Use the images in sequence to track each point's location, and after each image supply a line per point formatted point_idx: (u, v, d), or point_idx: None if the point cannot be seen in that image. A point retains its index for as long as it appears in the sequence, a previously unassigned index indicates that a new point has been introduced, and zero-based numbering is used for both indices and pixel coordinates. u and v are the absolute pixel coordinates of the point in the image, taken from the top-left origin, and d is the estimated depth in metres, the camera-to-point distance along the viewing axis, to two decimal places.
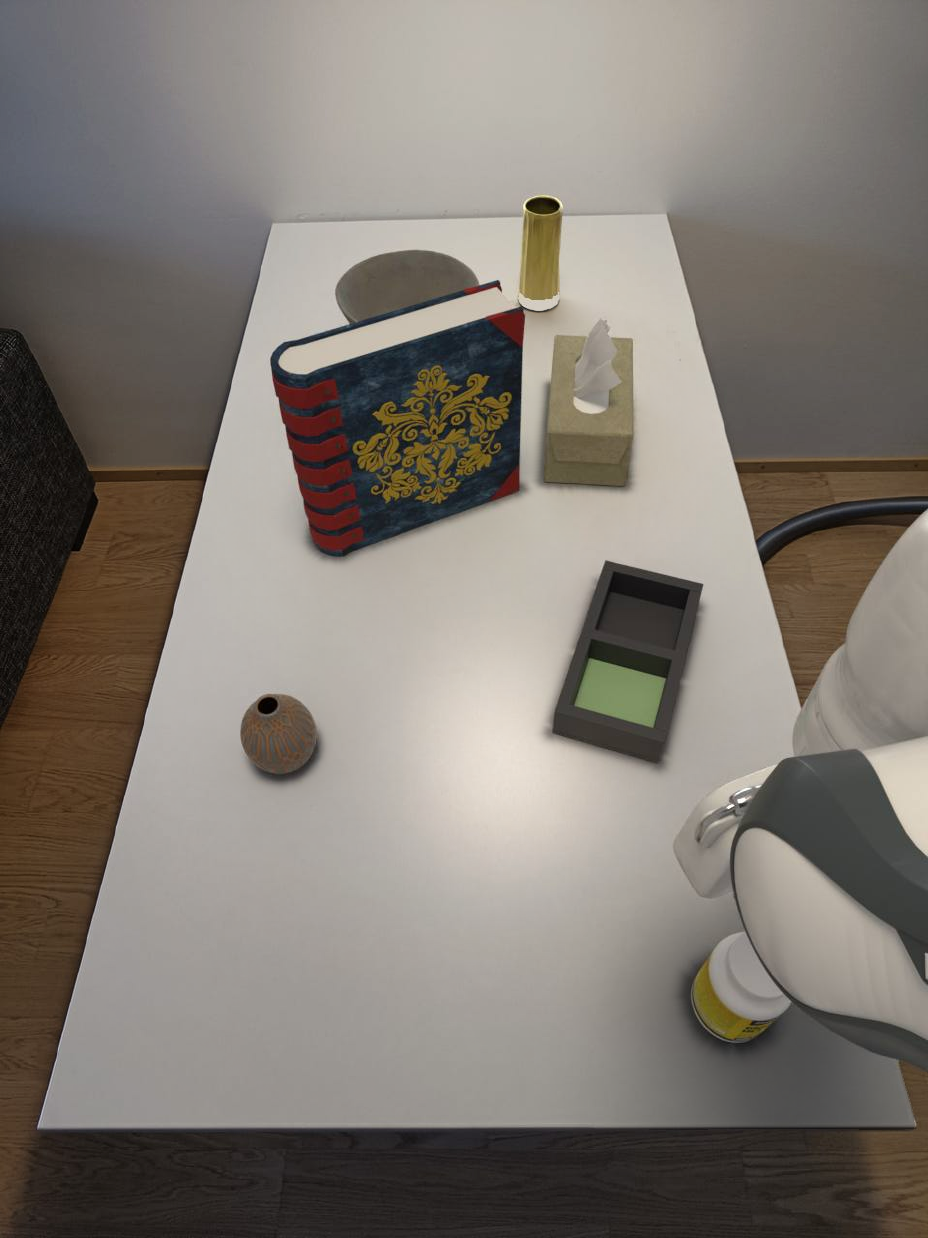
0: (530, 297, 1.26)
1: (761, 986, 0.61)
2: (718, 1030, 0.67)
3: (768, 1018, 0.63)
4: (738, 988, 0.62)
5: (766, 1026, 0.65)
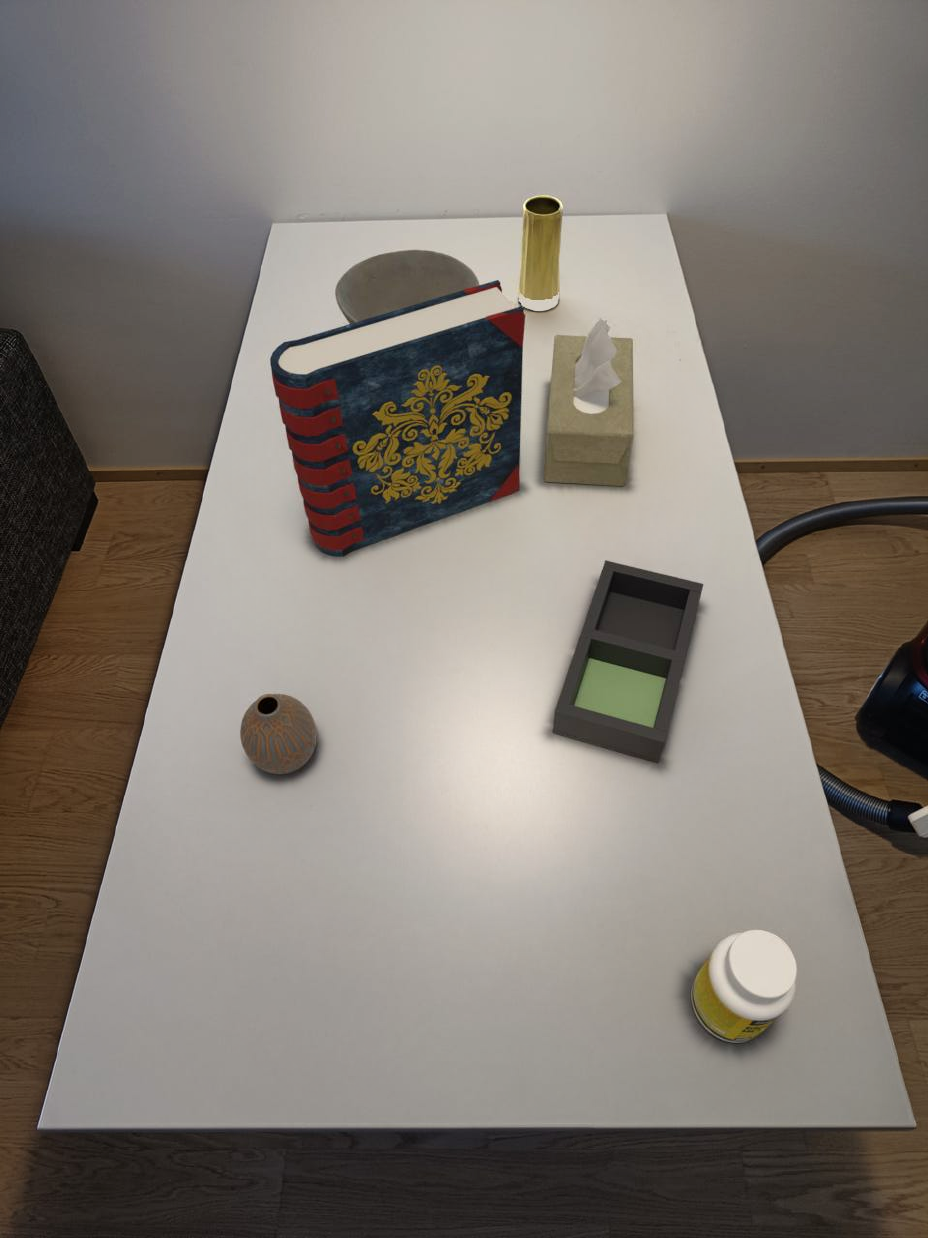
0: (530, 297, 1.26)
1: (761, 986, 0.61)
2: (718, 1030, 0.67)
3: (768, 1018, 0.63)
4: (738, 988, 0.62)
5: (766, 1026, 0.65)
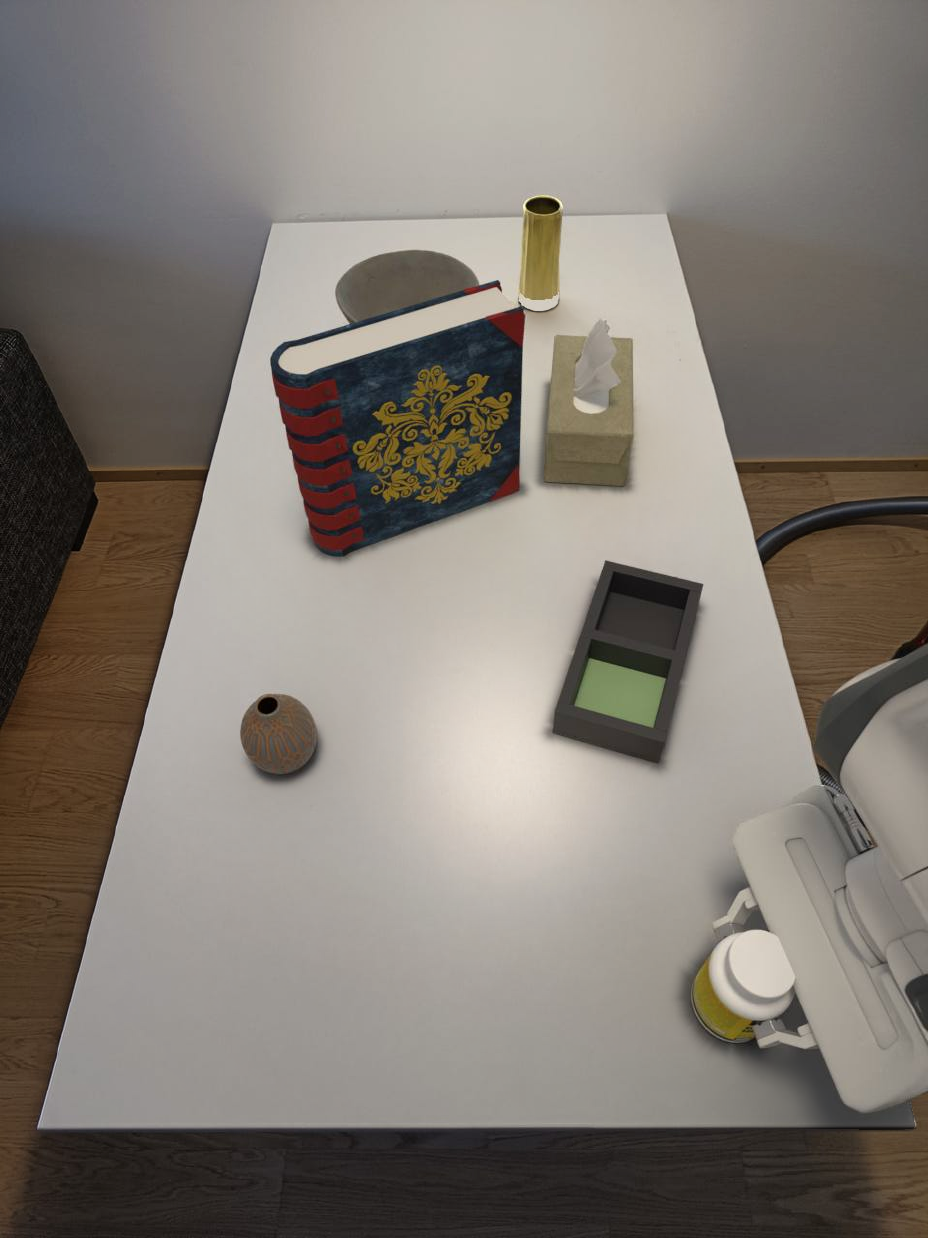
0: (530, 297, 1.26)
1: (761, 986, 0.61)
2: (718, 1030, 0.67)
3: (768, 1018, 0.63)
4: (738, 988, 0.62)
5: None
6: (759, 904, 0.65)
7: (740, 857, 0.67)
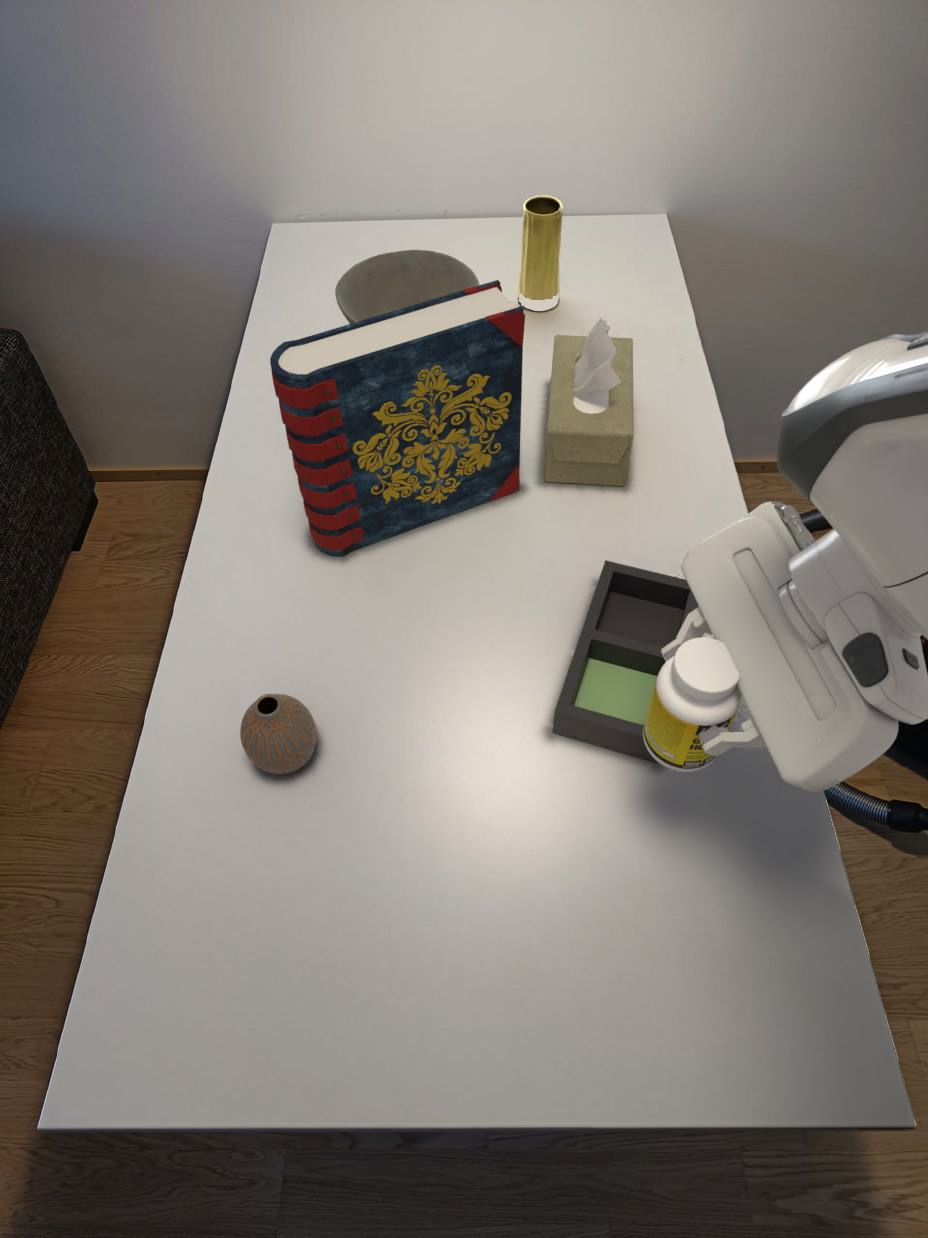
0: (530, 297, 1.26)
1: (705, 682, 0.61)
2: (667, 755, 0.67)
3: (713, 722, 0.63)
4: (683, 688, 0.62)
5: None
6: (706, 618, 0.65)
7: (689, 579, 0.67)
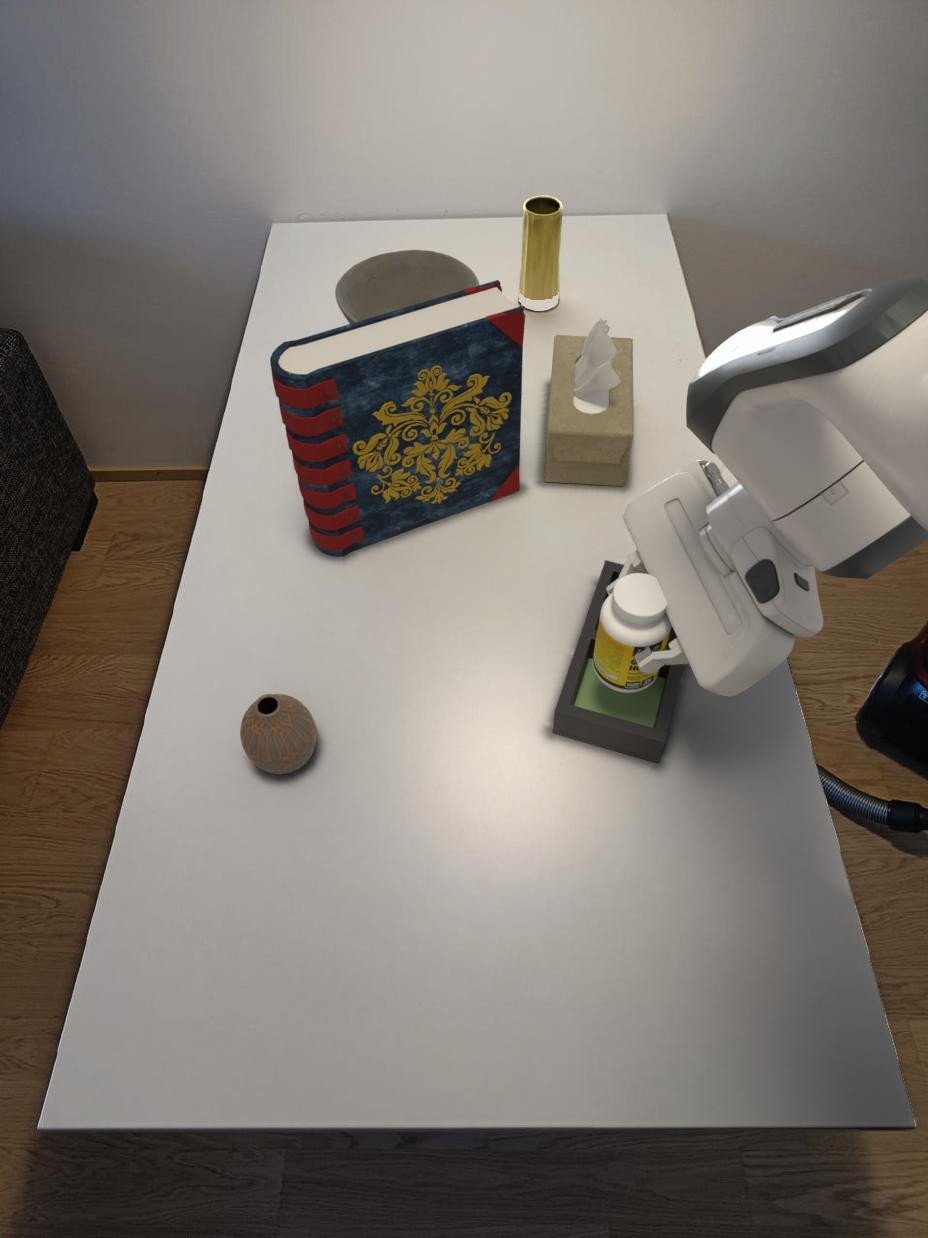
0: (530, 297, 1.26)
1: (638, 608, 0.73)
2: (612, 677, 0.79)
3: (646, 643, 0.74)
4: (620, 614, 0.73)
5: None
6: (642, 558, 0.76)
7: (629, 527, 0.78)
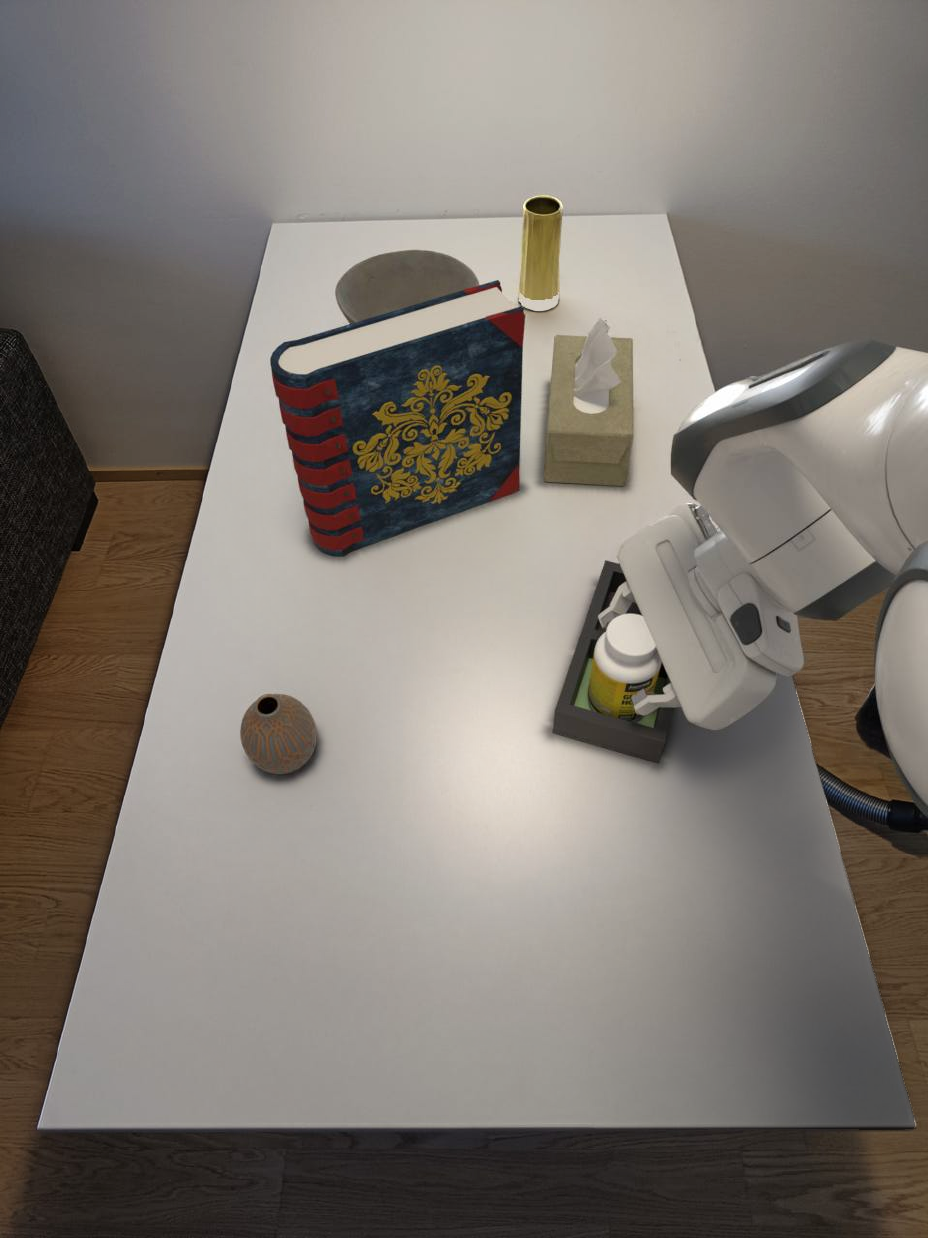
0: (530, 297, 1.26)
1: (629, 648, 0.77)
2: (605, 710, 0.84)
3: (638, 680, 0.79)
4: (613, 653, 0.78)
5: None
6: (634, 596, 0.81)
7: (622, 565, 0.83)
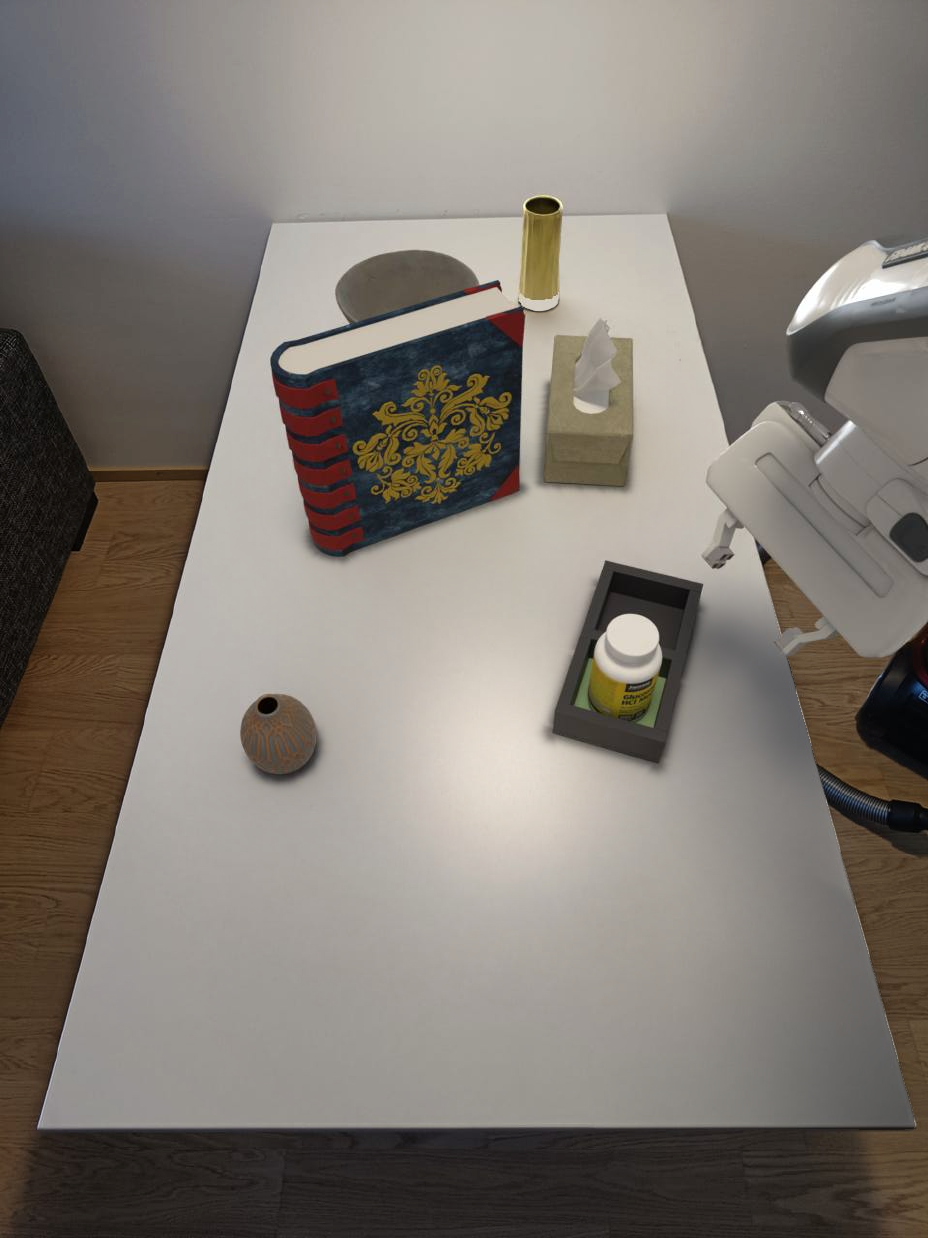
0: (530, 297, 1.26)
1: (629, 648, 0.77)
2: (605, 710, 0.84)
3: (638, 680, 0.79)
4: (613, 653, 0.78)
5: (640, 698, 0.81)
6: (746, 525, 0.70)
7: (718, 493, 0.71)
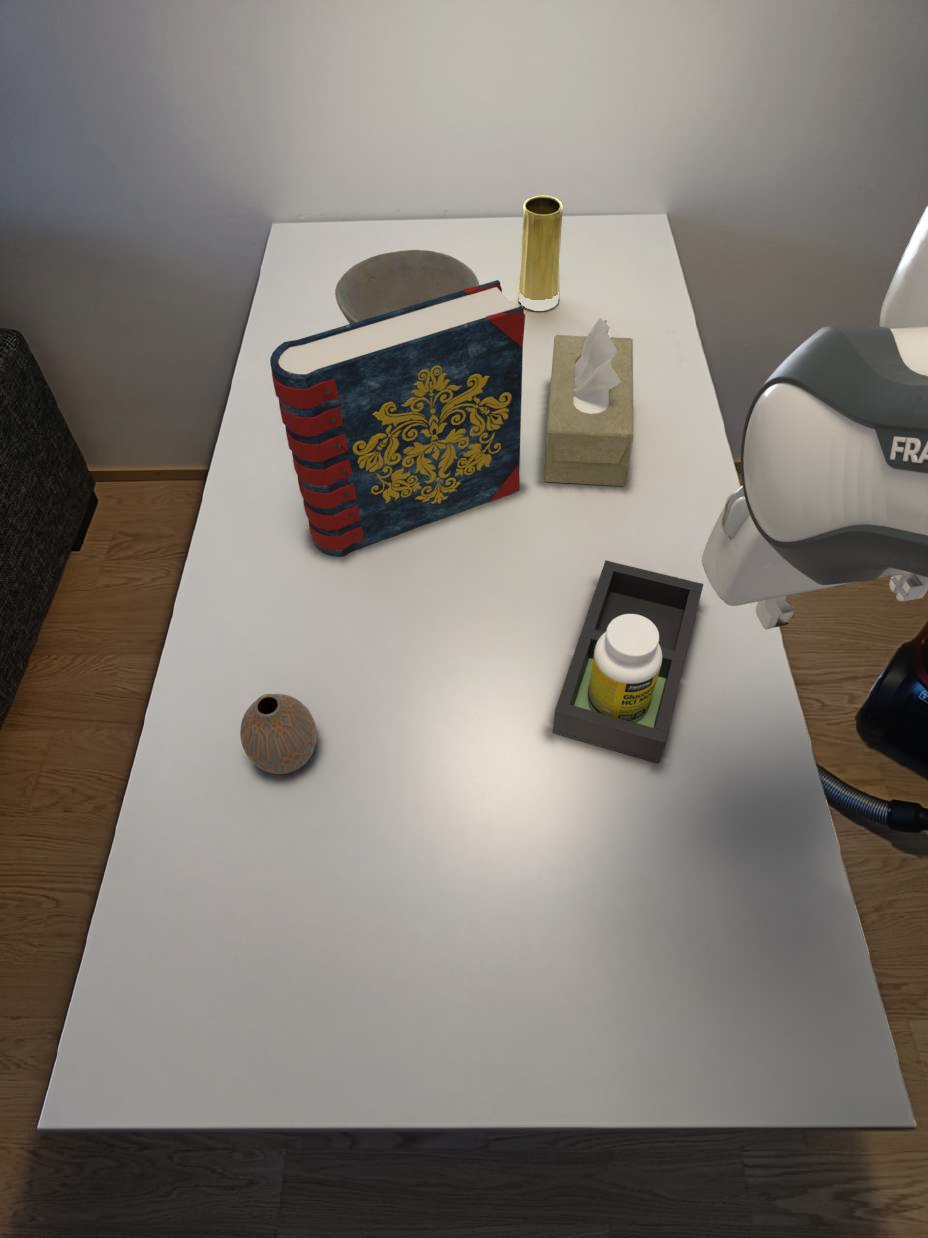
0: (530, 297, 1.26)
1: (629, 648, 0.77)
2: (605, 710, 0.84)
3: (638, 680, 0.79)
4: (613, 653, 0.78)
5: (640, 698, 0.81)
6: None
7: (757, 600, 0.52)
